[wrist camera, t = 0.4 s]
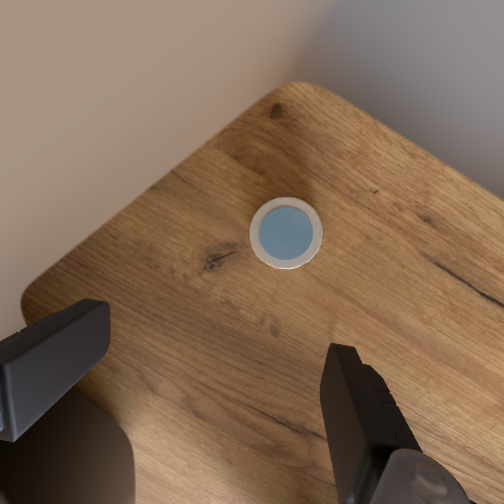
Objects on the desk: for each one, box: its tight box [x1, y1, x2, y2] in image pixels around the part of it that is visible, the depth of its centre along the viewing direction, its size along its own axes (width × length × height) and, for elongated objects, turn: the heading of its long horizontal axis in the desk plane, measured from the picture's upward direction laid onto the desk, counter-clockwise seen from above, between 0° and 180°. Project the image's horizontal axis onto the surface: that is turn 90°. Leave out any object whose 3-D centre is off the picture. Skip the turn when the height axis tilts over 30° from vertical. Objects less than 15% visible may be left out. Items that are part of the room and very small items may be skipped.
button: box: [249, 196, 323, 269], centre depth 19 cm, size 5×5×2 cm
